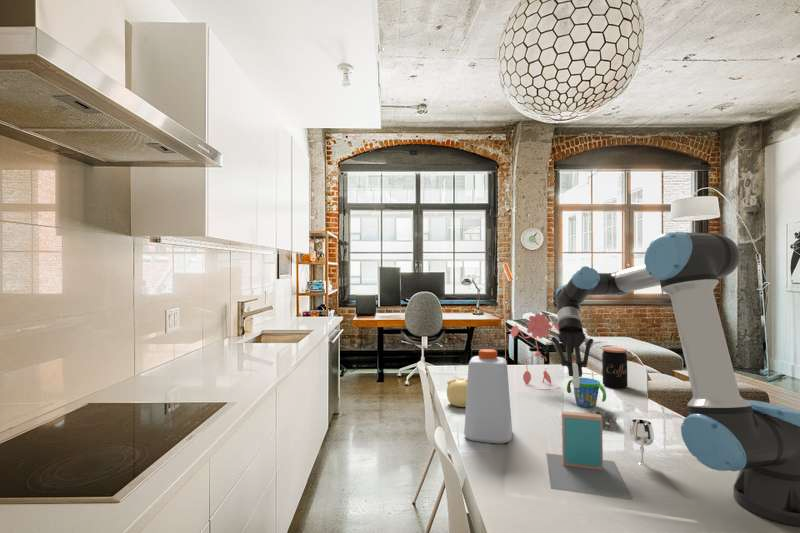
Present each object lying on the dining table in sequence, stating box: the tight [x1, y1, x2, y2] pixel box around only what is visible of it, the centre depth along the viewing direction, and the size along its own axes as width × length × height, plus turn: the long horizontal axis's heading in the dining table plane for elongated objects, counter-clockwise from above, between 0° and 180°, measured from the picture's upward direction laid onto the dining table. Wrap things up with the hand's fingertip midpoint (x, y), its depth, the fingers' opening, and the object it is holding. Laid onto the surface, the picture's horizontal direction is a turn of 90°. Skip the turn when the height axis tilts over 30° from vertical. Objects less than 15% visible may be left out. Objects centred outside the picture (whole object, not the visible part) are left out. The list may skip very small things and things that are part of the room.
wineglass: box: [629, 418, 655, 466], centre depth 114 cm, size 6×6×12 cm
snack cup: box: [566, 377, 607, 409], centre depth 168 cm, size 16×10×10 cm
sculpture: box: [446, 377, 468, 408], centre depth 168 cm, size 12×12×11 cm
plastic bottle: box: [463, 348, 513, 445], centre depth 136 cm, size 15×15×28 cm
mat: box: [545, 452, 634, 501], centre depth 108 cm, size 21×18×1 cm
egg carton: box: [592, 409, 618, 431], centre depth 146 cm, size 11×8×4 cm
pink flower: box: [510, 312, 559, 391], centre depth 198 cm, size 15×26×35 cm, turn 94°
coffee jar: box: [601, 346, 629, 390], centre depth 197 cm, size 11×11×18 cm
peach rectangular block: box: [561, 410, 604, 470], centre depth 113 cm, size 3×10×14 cm, turn 73°
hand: (576, 385), depth 123 cm, fingers closed
